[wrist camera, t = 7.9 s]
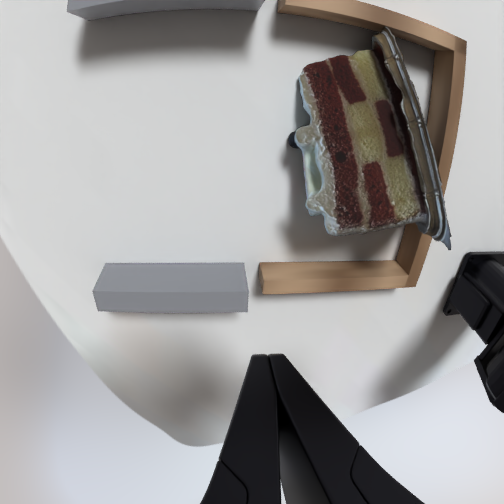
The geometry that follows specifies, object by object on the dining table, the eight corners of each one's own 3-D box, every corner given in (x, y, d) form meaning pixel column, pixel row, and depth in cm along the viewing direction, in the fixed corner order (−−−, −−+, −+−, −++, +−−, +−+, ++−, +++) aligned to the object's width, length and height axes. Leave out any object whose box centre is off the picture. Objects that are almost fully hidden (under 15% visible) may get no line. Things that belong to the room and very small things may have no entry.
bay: (259, -13, 12) (268, -31, 10) (242, 282, 21) (247, 311, 19) (91, -3, 11) (70, -16, 8) (109, 282, 20) (98, 311, 17)
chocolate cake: (255, 39, 14) (290, 263, 11) (382, 12, 12) (477, 229, 9) (298, 127, 23) (325, 285, 20) (386, 109, 21) (430, 266, 18)
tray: (446, 41, 14) (466, 41, 12) (402, 271, 22) (415, 286, 21) (278, -4, 13) (286, -14, 11) (258, 275, 21) (262, 294, 19)
